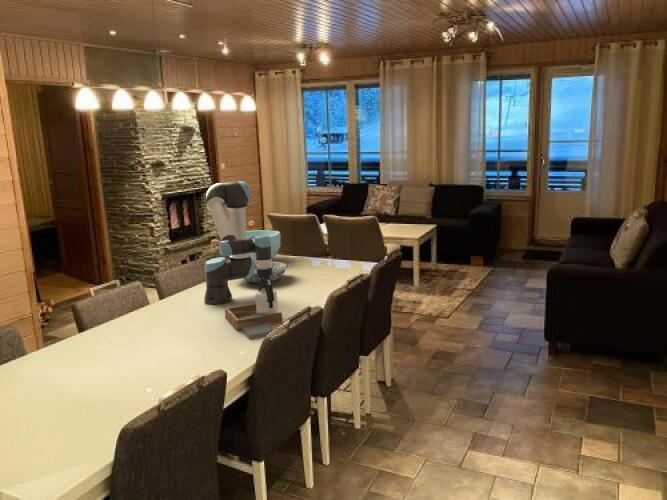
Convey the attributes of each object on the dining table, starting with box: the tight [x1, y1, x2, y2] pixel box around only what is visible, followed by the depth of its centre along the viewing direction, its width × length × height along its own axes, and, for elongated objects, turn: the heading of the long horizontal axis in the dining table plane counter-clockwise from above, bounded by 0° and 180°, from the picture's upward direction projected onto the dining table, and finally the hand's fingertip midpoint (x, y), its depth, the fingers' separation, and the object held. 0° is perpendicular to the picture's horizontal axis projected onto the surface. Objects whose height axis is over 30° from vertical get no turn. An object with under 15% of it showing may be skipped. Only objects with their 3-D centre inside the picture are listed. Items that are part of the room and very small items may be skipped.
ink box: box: [254, 288, 279, 316], centre depth 277 cm, size 9×8×13 cm
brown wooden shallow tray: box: [224, 302, 283, 332], centre depth 275 cm, size 23×22×5 cm
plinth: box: [242, 323, 275, 340], centre depth 257 cm, size 12×12×2 cm
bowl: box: [246, 229, 282, 262], centre depth 395 cm, size 35×35×22 cm
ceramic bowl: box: [244, 260, 290, 283], centre depth 350 cm, size 34×34×10 cm
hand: (267, 310), depth 278 cm, fingers closed on ink box, 11 cm apart
